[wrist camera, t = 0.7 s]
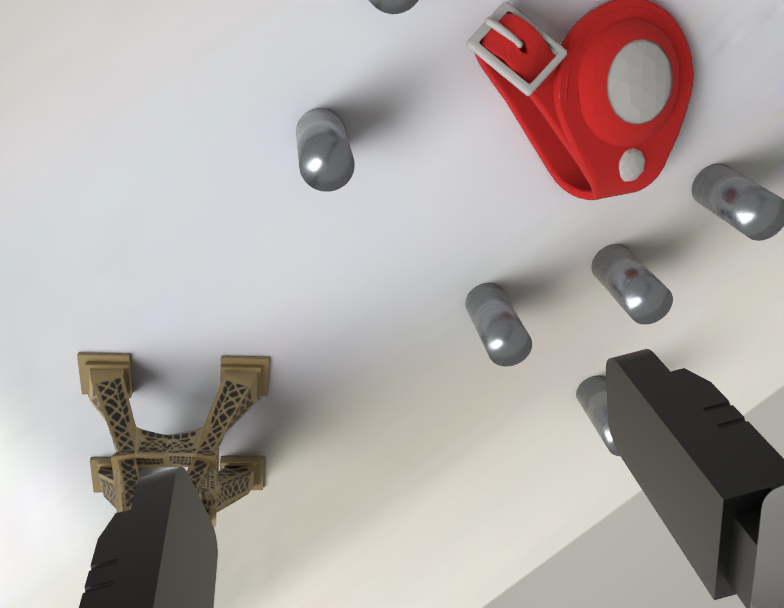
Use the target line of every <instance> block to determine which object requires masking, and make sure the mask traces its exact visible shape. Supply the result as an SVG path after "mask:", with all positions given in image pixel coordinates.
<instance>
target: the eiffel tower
mask: <svg viewBox="0 0 784 608" xmlns="http://www.w3.org/2000/svg"><path fill="white" fill-rule="evenodd" d="M77 357H78V366H79V374H80V382H81V390H82V394H88V396H89V398H90V401H91V402H92V404H93V405H94V406H95V407H96V409H97V410H98V411H99V413H100V414H101V415H102V416H103V418H104V419H105V420H106V422H107V425H108V428H109V431H110V434H111V437H112V440H113V443H114V446H115V449H116V453H115V454H114V455H113V456H112V457H91V458H90V465H91V473H92V481H93V490H94V492H103V495H104V497H105V498H106V499H107V500H108V501H109V502H110V503H111V504H112V505H113V506H114V507H115V508H116V509H117V513H118V512H122V511H126V510H130V509H131V506H132V502H133V498H134V494H135V489H136V485H137V482H138V480H139V479H140V476H139V472H140V470H141V467H189V468H188V470H187V473H188V474H189V476H190V478H191V481H192V483H193V485H194V487H195V489H196V491H197V493H198V495H199V497H200V499H201V501H202V503H203V505H204V507H205V509H206V511H207V513H208V515H209V517H210V519H211V522H212V524H213V526H216V512H218V511H220V510H222V509H224V508H225V507H227V506H229V505H231V504H232V503H234V502H236V501H237V500H239V499H240V498H242V497H244V496H245V495H247V494H249V492H250V491H251V490H263V477H264V456H227V457H221V460H220V471H219V446H220V444H221V441H222V439H223V437H224V434H225V433H226V432H227V431H228V430H229V429H230V428H231V427H232V426H233V425H234V424H235V423H236V422H237V421H238V420H239V419H240V418H241V417H242V416H243V415H244V414H245V413H246V412H247V411H248V410H249V409H250V408H251V407H252V406H253V405H254V404H255V403H256V402H257V400H260V396H267V392H268V371H269V357H259V356H221V385H220V387H219V390H218V392H217V395H216V397H215V400H214V402H213V405H212V407H211V410H210V412H209V415H208V417H207V420H206V422H205V425H204V427H202V428H199V429H196V430H193V431H188V432H184V433H180V434H175V435H162V434H158V433H154V432H150V431H146V430H143V429H140V428H137V427H136V425H135V422H134V418H133V414H132V410H131V406H130V402H129V398H131V396H132V393H133V390H132V376H131V363H130V354H121V353H78V354H77Z"/></svg>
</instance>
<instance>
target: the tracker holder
mask: <svg viewBox="0 0 784 608" xmlns="http://www.w3.org/2000/svg"><path fill="white" fill-rule="evenodd" d="M467 47H468V48H469V49H471V50H472V51H473V52H474V53H475V56H476V58H477V60H478V62H479V64H480V66H481V67H482V69H483V70H484V72H485V73H486V74H487V76H488V77H489V79H490V80H491V82H492V83H493V84H494V86H495V87H496V89H497V90H498V91H499V93H500V94H501V95H502V97H503V98H504V100H505V101H506V103H507V104H508V106H509V107H510V109H511V111H512V112H513V114H514V116H515V117H516V119H517V121H518V122H519V124H520V125H521V127H522V129H523V130H524V132H525V134H526V135H527V137H528V139H529V140H530V142H531V144H532V145H533V147H534V148H535V150H536V152H537V153H538V155H539V157H540V158H541V160H542V162H543V163H544V165H545V166H546V168H547V170H548V171H549V173H550V174H551V176H552V177H553V179H554V180H555V181H556V182H557V183H558V184H559V186H560V187H561V188H563V189H564V190H565V191H567V192H568V193H570V194H571V195H573V196H575V197H578V198H582V199H586V200H597V199H602V198H607V197H612V196H618V195H623V194H628V193H633V192H637V191H640V190H642V189H644V188H645V187H647V186H648V185H649V184H651V183H652V182H653V181H654V180H655V179H656V178H657V177H658V175H659V174H660V172H661V171H662V169H663V168H664V166H665V164H666V161H667V159H668V157H669V154H670V152H671V150H672V148H673V145H674V143H675V141H676V139H677V136H678V134H679V131H680V128H681V125H682V122H683V119H684V117H685V114H686V110H687V107H688V103H689V100H690V96H691V91H692V86H693V74H694V73H693V64H692V57H691V53H690V49H689V45H688V43H687V40H686V38H685V36H684V34H683V31H682V29H681V28H680V27H679V25H678V24H677V22H676V21H675V20H674V18H673V17H672V16H671V15H670V14H669V13H668V12H667V11H666V10H664V9H663V8H661V7H660V6H658V5H657V4H655V3H653V2H650V1H648V0H613V1H609V2H607V3H605V4H602V5H600V6H598V7H597V8H595V9H594V10H592V11H590V12H589V13H587V14H586V15H585V16H583V17H582V18H581V19H580V20H579V21H578V22H577V23H576V24H575V25H574V26H573V28H572V29H571V30H570V32H569V33H568V34H567V36H566V38H565V39H564V41H563V43H562V45H559V44H558V43H557V42H556V41H555V40H553V39H552V38H551V37H550V36H548V35H547V34H546V33H545V32H543V31H542V30H541V29H540V28H538V27H537V26H536V25H535V24H534V23H532V22H531V21H530V20H529V19H527V18H526V17H525V16H524V15H522V14H521V13H520V12H519V11H517V10H516V9H515V8H514V7H513V6H511V5H510V4H509V3H508V2H504V3H503V4H502V5H501V6H500V7H499V8H498V9H497V10H496V11H495V12H494V13H493V14H492V15H491V16H490V17H488V18H486V20H485V23H484V24H483V25H482V26H481V27H480V28H479V29H478V30H477V31H476V32H475V33H474V35H473V36H472V37H471V38H470V39H469V40H468V41H467Z"/></svg>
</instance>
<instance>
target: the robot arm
mask: <svg viewBox="0 0 784 608" xmlns="http://www.w3.org/2000/svg"><path fill="white" fill-rule="evenodd" d="M606 385H607V415H608V426H609V430H610V434H611V437H612V440H613V443H614V445H615V447H616V449H617V451H618V453H619V455H620V456H621V458H622V459H623V461H624V462H625V464H626V465H627V467H628V468H629V470H630V471H631V473H632V475H633V476H634V478H635V479H636V481H637V482H638V484H639V485H640V487H641V488H642V490H643V491H644V493H645V494H646V496H647V497H648V499H649V501H650V502H651V504H652V505H653V507H654V508H655V510H656V511H657V513H658V515H659V516H660V517H661V519H662V520H663V522H664V524H665V525H666V527H667V528H668V530H669V531H670V533H671V535H672V536H673V538H674V539H675V540H676V542H677V544H678V545H679V546H680V548H681V550H682V551H683V553H684V555H685V556H686V558H687V559H688V561H689V562H690V564H691V565H692V567H693V568H694V570H695V571H696V573H697V575H698V576H699V577H700V579H701V581H702V582H703V584H704V585H705V587H706V588H707V590H708V591H709V593H710V594H711V596H712V597H713V599H714V600H717V599H721V598H724V597H728V596H732V595H735V594H737V595H738V597H739V598H740V600H741V601H742V602H743V604H744V605H745V607H746V608H784V459H783V458H782V456H781V455H779V453H778V452H777V451H776V450H775V449H774V448H773V447H772V446H771V445H770V444H769V443H768V442H767V441H766V440H765V439H764V437H762V436H761V434H760V433H759V432H758V431H757V430H756V429H755V428H754V427H753V426H752V425H751V424H750V423H749V422H748V421H747V422H746V421H745V419H744V416H743V415H742V414H741V413H740V412H739V411H738V410H737V409H736V408H735V407H734V406H733V405H732V406H731V405H730V403H729V401H728V400H727V398H726V397H725V396H724V395H723V394H722V393H721V392H720V391H719V390H718V389H717V388H716V387H715V386H714V385H713V384H712V383H711V382H710V381H708V380H706V379H704V378H702V377H700V376H698V375H696V374H694V373H693V372H691V371H689V370H687V369H685V368H683V369H679V370H676V371H672V372H670V371H669V369H668V368H667V367H666V366H665V365H664V364H663V363H662V362H661V360H660V359H659V358H658V357H657V356H656V355H655V354H654V353H653V352H652V351H651V350H649V349H645V350H641V351H637V352H633V353H629V354H625V355H621V356H617V357H613V358H610V359H608V360H607V363H606ZM217 557H218V549H217V540H216V535H215V530H214V527H213V524H212V522H211V519H210V517H209V515H208V513H207V511H206V509H205V507H204V505H203V503H202V501H201V499H200V497H199V495H198V493H197V491H196V489H195V487H194V485H193V483H192V481H191V478H190V476H189V474H188V473H187V471H186V470H185V469H184V468H183V467H178V468H174V469H170V470H166V471H163V472H159V473H155V474H151V475H147V476H143V477H141V478H140V479H139V480H138V482H137V485H136V489H135V494H134V498H133V502H132V506H131V509H130V510H126V511H122V512H118V513H116V514H115V515H114V516H113V518H112V519H111V521H110V522H109V524H108V525H107V527H106V528H105V530H104V531H103V533H102V534H101V535H100V537H99V538H98V541H97V544H96V548H95V551H94V555H93V559H92V562H91V571H89V573H88V577H87V580H86V584H85V587H84V588H85V593H83V595H82V598H81V602H80V605H79V608H213V605H214V593H215V581H216V569H217Z"/></svg>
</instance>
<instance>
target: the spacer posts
mask: <svg viewBox="0 0 784 608" xmlns="http://www.w3.org/2000/svg"><path fill="white" fill-rule="evenodd" d="M369 1H370V2H371V3H372V4H373V5H374V6H375V7H376V8H377V9H379V10H380V11H382V12H385V13H388V14H399V13H403V12H405V11H407V10H409V9H411V8H412V7H413V6H414V5H415V4H416V3H417V2H418V0H369ZM296 136H297V146H298V157H299V168H300V173H301V175H302V177H303V179H304V180H305V182H306V183H307V184H308V185H310V186H311V187H312V188H314V189H316V190H319V191H334V190H337V189H340V188H341V187H343V186H344V185H345V184H347V182H348V181H349V180H350V179H351V177H352V175H353V172H354V166H355V165H354V158H353V155H352V151H351V148H350V145H349V142H348V139H347V135H346V132H345V129H344V126H343V123H342V121H341V119H340V118H339V117H338V116H337V115H336V114H335V113H333V112H332V111H330V110H327V109H313V110H311V111H308V112H307V113H305V114H304V115H303V116H302V117H301V119H300V120H299V122H298V125H297V129H296ZM692 195H693V198H694V199H695V200H696V201H697V202H698V203H700V204H701V205H703V206H704V207H705V208H707V209H708V210H710V211H711V212H713V213H714V214H716V215H717V216H718V217H720V218H721V219H723V220H724V221H726V222H727V223H729V224H730V225H731V226H733V227H734V228H736V229H737V230H739V231H740V232H742V233H743V234H744V235H746V236H747V237H749V238H750V239H752V240H758V241H759V240H765V239H768V238H770V237H772V236H774V235H775V234H777V233H778V232H779V231H780V230H781V229H782V228H783V226H784V199H782V198H781V197H779V196H777V195H775V194H774V193H772V192H770V191H768V190H767V189H765V188H763V187H761V186H760V185H758V184H756V183H754V182H753V181H751V180H749V179H747V178H746V177H744V176H742V175H740V174H739V173H737V172H735V171H733V170H732V169H730V168H728V167H726V166H724V165H721V164H715V165H711V166H708V167H706V168H705V169H703V170H702V171H701V172H700V173H699V174H698V175H697V177H696V178H695V180H694V182H693V185H692ZM592 272H593V274H594V275H595V277H596V278H597V279H598V280H599V281H600V282H601V284H602V285H603V286H604V287H605V288H606V289H607V290H608V292H609V293H610V294H611V295H612V296H613V297H614V298H615V300H616V301H617V302H618V303H619V304H620V305H621V307H622V308H623V309H624V310H625V311H626V312H627V313H628V315H629V316H630V317H631V318H632V319H633V320H634V321H635V322H637V323H639V324H651V323H654V322H657V321H658V320H660V319H662V318H663V317H664V316H665V315H666V314H667V313H668V312H669V310H670V308H671V306H672V302H673V296H672V293H671V291H670V290H669V289H668V288H667V287H666V286H665V285H664V284H663V283H662V282H661V281H660V280H659V279H658V278H656V277H655V276H654V275H653V274H652V273H651V272H650V271H649V270H648V269H647V268H646V267H645V266H644V265H643V264H642V263H641V262H640V261H639V260H638V259H637V258H636V257H635V256H634V255H633V254H632V253H631V252H630V251H629V250H628V249H626V248H625V247H624V246H621V245H610V246H607V247H605V248H603V249H602V250H601V251H599V252H598V253H597V255H596V256H595V258H594V260H593V262H592ZM466 309H467V311H468V313H469V315H470V317H471V319H472V321H473V323H474V325H475V328H476V330H477V332H478V334H479V336H480V338H481V340H482V342H483V344H484V346H485V348H486V351H487V353H488V355H489V357H490V359H491V360H492V361H493V362H494V363H495V364H497V365H500V366H513V365H516V364H518V363H520V362H522V361H523V360H524V359H525V358H526V357H527V356H528V355H529V353H530V351H531V348H532V340H531V337H530V336H529V334H528V332H527V331H526V329H525V327H524V326H523V324H522V322H521V321H520V319H519V317H518V316H517V314H516V312H515V310H514V309H513V307H512V305H511V304H510V302H509V300H508V299H507V297H506V295H505V294H504V292H503V290H502V289H501V288H500V287H499V286H497V285H494V284H482V285H479V286H477V287H475V288H474V289H473V290H472V291H471V292H470V293H469V294H468V296H467V299H466ZM576 396H577V399H578V401H579V402H580V404H581V406H582V407H583V409H584V411H585V412H586V414H587V415H588V417H589V419H590V420H591V422H592V423H593V425H594V427H595V428H596V430H597V432H598V433H599V435H600V436H601V438H602V440H603V441H604V443H605V445H606V446H607V448H608V449H609V451H610V452H611V453H612V454H614V455H616V456H620V455H619V453H618V451H617V449H616V447H615V445H614V443H613V440H612V437H611V434H610V430H609V426H608V415H607V385H606V378H605V377H602V376H594V377H591V378H588V379H586V380H585V381H584V382H582V383H581V384H580V386H579V387H578V389H577V393H576Z"/></svg>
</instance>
